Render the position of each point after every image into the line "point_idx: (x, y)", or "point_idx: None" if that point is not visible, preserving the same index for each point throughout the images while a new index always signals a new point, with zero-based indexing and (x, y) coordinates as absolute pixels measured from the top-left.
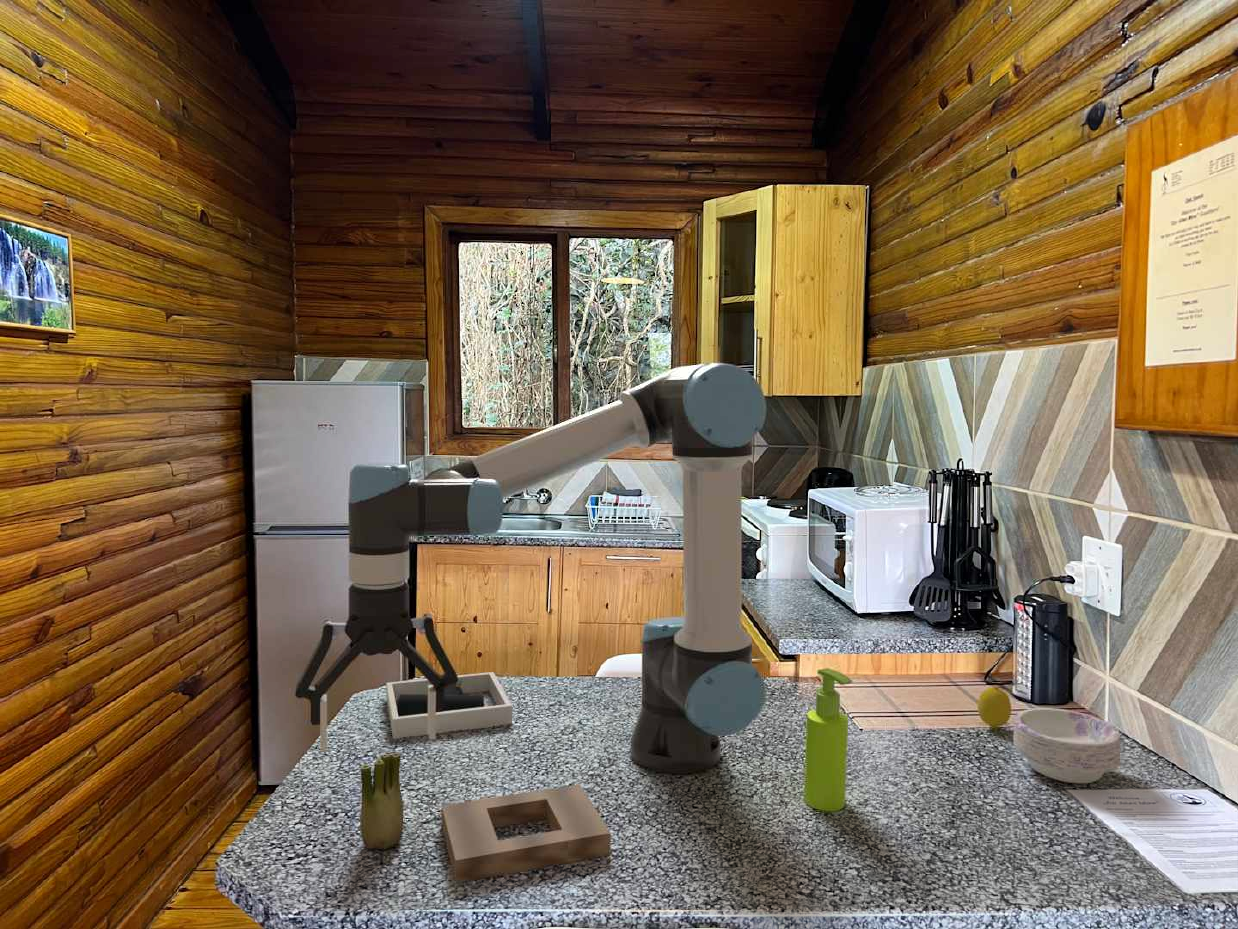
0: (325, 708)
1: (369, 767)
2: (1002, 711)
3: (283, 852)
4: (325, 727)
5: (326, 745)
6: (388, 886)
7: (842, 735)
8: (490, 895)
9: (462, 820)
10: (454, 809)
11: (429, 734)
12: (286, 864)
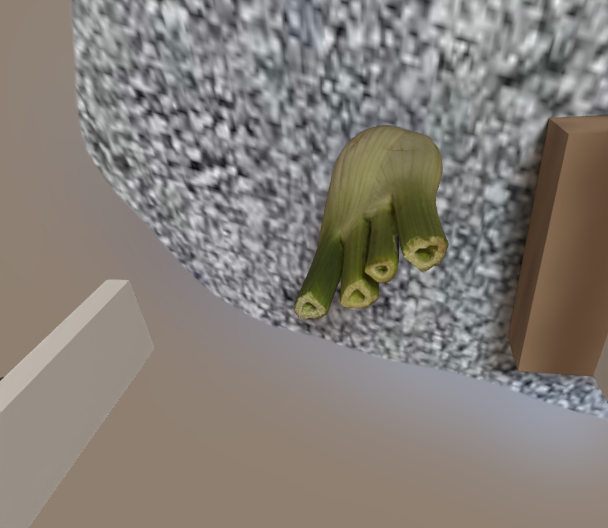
0: (23, 525)
1: (323, 315)
2: None
3: (174, 139)
4: (92, 428)
5: (141, 365)
6: (387, 306)
7: None
8: (558, 380)
9: (597, 235)
10: (599, 171)
11: (605, 388)
12: (194, 186)
